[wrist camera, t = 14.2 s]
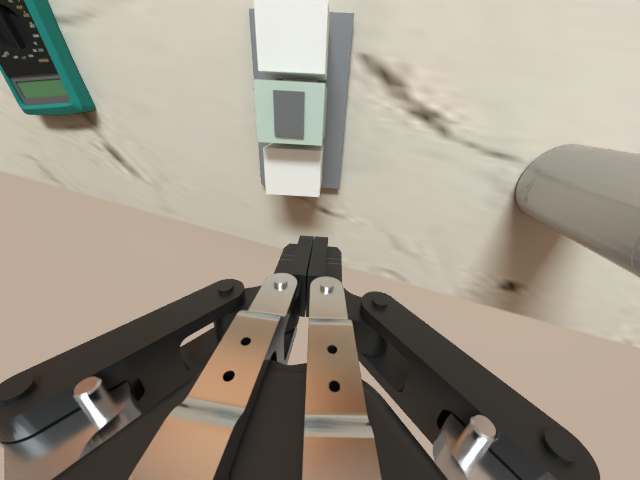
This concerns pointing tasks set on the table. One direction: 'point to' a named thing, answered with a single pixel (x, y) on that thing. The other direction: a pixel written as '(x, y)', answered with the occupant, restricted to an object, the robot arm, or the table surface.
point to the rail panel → (303, 66)
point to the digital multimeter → (39, 61)
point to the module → (290, 111)
